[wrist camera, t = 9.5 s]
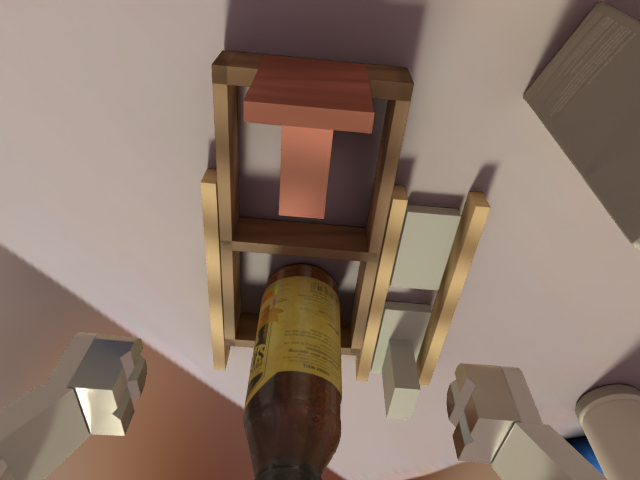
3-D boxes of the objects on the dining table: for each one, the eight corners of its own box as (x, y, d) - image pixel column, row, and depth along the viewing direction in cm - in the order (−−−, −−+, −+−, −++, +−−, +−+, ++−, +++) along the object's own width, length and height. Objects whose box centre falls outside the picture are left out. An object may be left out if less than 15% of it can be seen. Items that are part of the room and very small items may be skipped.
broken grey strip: (405, 204, 34) (417, 255, 29) (457, 209, 34) (478, 260, 29) (370, 363, 44) (374, 420, 39) (410, 366, 44) (419, 424, 39)
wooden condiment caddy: (222, 50, 28) (188, 95, 21) (407, 67, 28) (428, 118, 22) (231, 319, 41) (212, 397, 34) (358, 328, 41) (362, 409, 35)
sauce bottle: (258, 262, 38) (200, 534, 21) (337, 257, 37) (338, 532, 21) (271, 320, 41) (230, 589, 25) (343, 316, 41) (348, 588, 25)
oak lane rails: (207, 168, 33) (200, 182, 31) (482, 192, 33) (490, 207, 32) (218, 352, 44) (213, 369, 42) (425, 367, 44) (428, 385, 43)
